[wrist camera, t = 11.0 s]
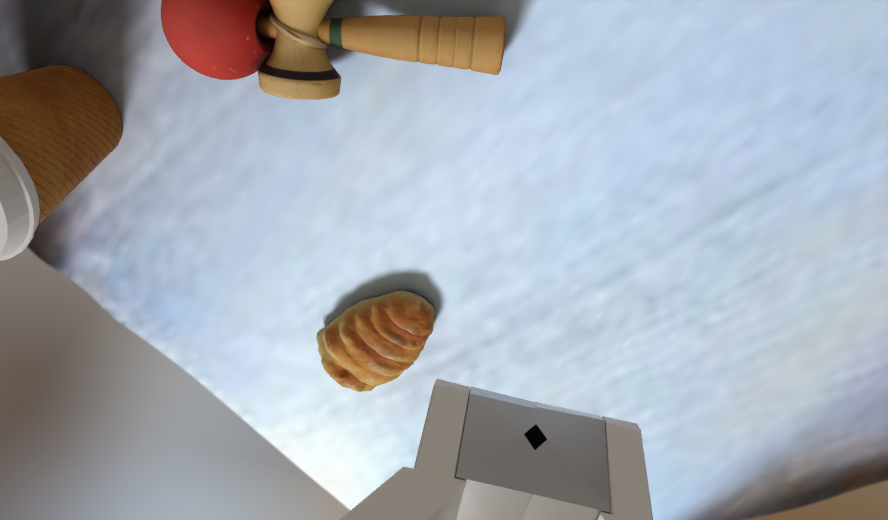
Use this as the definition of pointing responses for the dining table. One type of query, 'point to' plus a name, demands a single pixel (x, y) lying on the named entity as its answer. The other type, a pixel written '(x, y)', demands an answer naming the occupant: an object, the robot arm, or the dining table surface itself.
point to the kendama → (317, 41)
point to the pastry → (375, 339)
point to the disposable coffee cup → (48, 144)
